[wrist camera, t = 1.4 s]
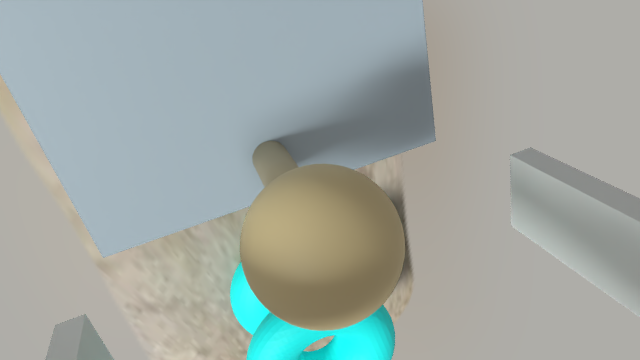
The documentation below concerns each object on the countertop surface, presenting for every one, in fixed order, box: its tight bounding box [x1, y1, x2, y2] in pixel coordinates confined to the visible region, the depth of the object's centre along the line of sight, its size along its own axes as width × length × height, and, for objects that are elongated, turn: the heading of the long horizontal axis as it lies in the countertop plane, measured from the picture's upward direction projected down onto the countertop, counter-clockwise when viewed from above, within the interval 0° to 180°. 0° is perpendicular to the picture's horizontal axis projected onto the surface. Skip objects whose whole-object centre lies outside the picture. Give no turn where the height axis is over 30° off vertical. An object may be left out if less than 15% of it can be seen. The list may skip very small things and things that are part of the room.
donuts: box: [230, 262, 395, 360], centre depth 33 cm, size 10×10×10 cm
